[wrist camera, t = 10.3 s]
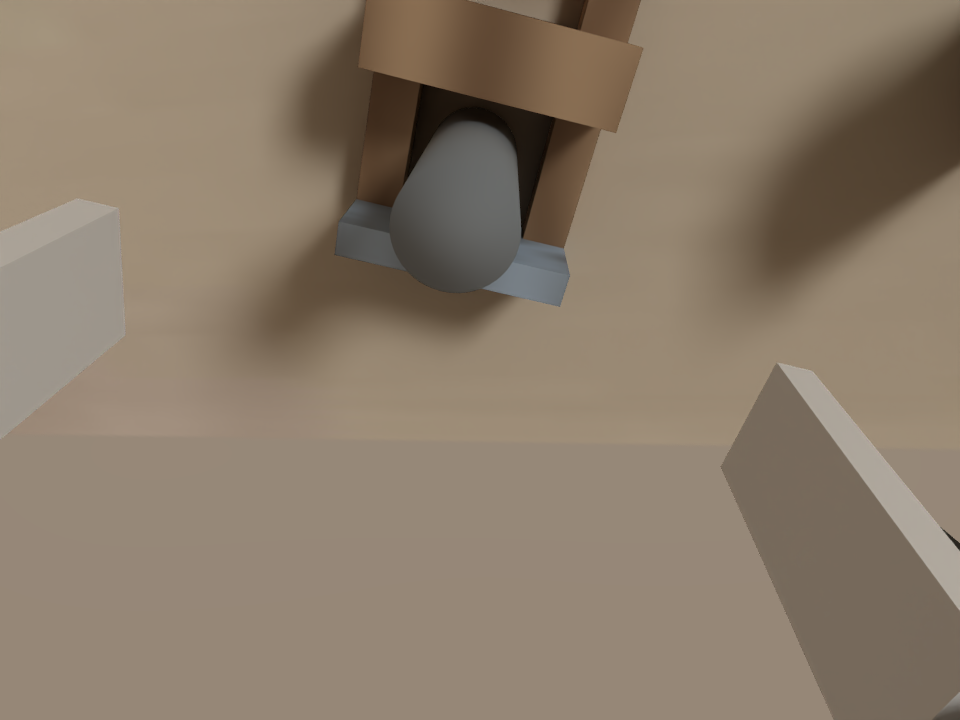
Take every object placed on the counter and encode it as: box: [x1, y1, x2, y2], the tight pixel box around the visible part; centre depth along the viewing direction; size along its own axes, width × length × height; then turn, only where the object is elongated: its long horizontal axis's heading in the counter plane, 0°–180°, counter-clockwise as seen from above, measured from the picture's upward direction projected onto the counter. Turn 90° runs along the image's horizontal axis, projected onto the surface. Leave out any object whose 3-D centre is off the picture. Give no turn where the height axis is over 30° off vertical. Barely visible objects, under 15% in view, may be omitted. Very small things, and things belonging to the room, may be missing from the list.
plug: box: [389, 107, 521, 293], centre depth 24 cm, size 4×4×12 cm
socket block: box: [335, 0, 643, 307], centre depth 25 cm, size 10×18×5 cm, turn 167°
